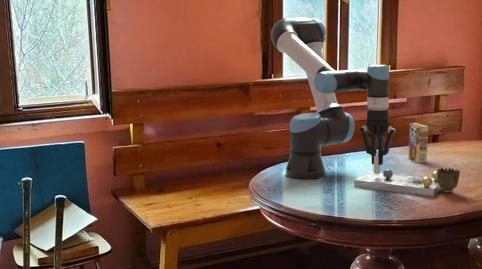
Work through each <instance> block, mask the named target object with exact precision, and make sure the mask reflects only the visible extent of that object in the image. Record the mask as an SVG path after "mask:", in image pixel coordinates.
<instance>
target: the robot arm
mask: <svg viewBox="0 0 482 269" xmlns="http://www.w3.org/2000/svg"><path fill="white" fill-rule="evenodd" d="M326 35H327V31H326V27H325V25H324V23H323V22H322V21H321V20H320V19H319V18H317V17H309V16H308V17H285V18H282V19H279V20H278V21H276V22H275V23H274V24H273V27H272V28H271V31H270V39H271V42H272V45H273V46H274V48H276V49H277V51H279V52H280V53H282V54H286V55H287V56H288V57H289V58H290V59H291V60H292V61H293V62H295V63H296V65H298V66H299V67H300V68H301V69H302V70H303V71H304V72H305V75H306V77H307V81H308V83H309V88H310V91H311V94H312V98H313V100H314V104H315V108H316V112H308V113H306V112H305V113H300V114H297V115H294V116H292V117H291V119H290V125H289V134H290V135H289V137H290V138H289V139H290V142H289V143H290V144H289V146H290V147H289V148H290V149H289V150H290V151H289V152H290V154H289V158H288V162H287V164H286V166H285V175H286V176H287V177H288V178H292V179H299V180H300V179H301V180H310V179H311V180H315V179H319V178H320V179H321V178H323V177H325V175H326V168H325V165H324V160H323V158H322V152H321V151H322V150H321V147H323V146H324V147H325V146H331V145H340V144H344V143H346V142H349V141H350V140H351V138H352V137H354V136H353V135H354V133H355V128H356V127H355V120H354V117H353V116H352V115H351V114H350V113H348V112H345V110H344V109H345V108H344V106H343V105H341V104H339V103H338V100H337V96H336V93H341V92H351V91H365V92H367V94H366V95H367V96H366V102H367V104H366V107H367V110H366V122H365V125H363V126H361V127H360V128H359V131H360V132H361V135H362V139H363V142H364V143H363V144H364V147H365V148H364V149H365V152H366V154H369V155H370V156H371V165H373V172H374V174H379V173H381V166H382V165H383V164H384V156H386V155H388V154H389V152H390V148H391V145H392V140H393V137H394V134H396V131H397V129H396V128H393V127H392V126H391V124H390V122H389V120H390V119H389V118H390V116H389V113H390V111H389V109H388V108H390V104H389V103H390V78H391V77H390V67H389V65H387V64H370V65H368V66H367V68H366V69H361V68H350V69H348V70H347V69H345V70H336V69H334V68H332V67H331V66H330V65H329V64H328V63H327V62H326V61H325V58H324V54H323V50H322V49H323V48H324V46H325V45H324V43H326V42H325V41H326V38H327V37H326ZM386 132H387V133H388V134H387V136H386V140H385V139H384V137H385V133H386ZM369 133H370V136H369ZM370 138H371V139H370ZM384 141H385V142H384Z"/></svg>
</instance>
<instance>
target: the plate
mask: <svg viewBox="0 0 482 269" xmlns="http://www.w3.org/2000/svg"><path fill="white" fill-rule="evenodd" d="M423 178H424V177H421V176H414V175H413V176H412V175H404V174H394V173H393V176H392V177H391V178H390V179H386V178H385V177H384V176H383V172H380V173H379V174H374V171H365V173H363V174H361V175H360V176H358V177H356V178H355V179H354V182H353V186H354V187H355V188H362V189H363V188H364V189H369V190H370V189H371V190H379V191H386V192H395V193H402V194H409V195H418V196H427V197H433V198H434V196H436V195H437V194H438V193H439V192H440V191H442V189H443V188H441V187H440V186H439V184H438V181H434V180H433V179H432V177H431V178H430V177H429V178H430V179H431V180H432V184H431V185H430V186H429V187H425V186H423V185H422V179H423Z"/></svg>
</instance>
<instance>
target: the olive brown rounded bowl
mask: <svg viewBox="0 0 482 269" xmlns="http://www.w3.org/2000/svg"><path fill="white" fill-rule="evenodd" d="M436 171H437V177H438V184H439V186H440V187H441V188H442V189H441V191H442V193H443V194H447V195H450V194H453V193H454V190H455V189H456V188H457V186H458V184H459V179H460V173H461V171H460V169H457V168H456V169H454V168H450V167H449V168H447V167H446V168H443V167H441V168H438V169H437V170H436Z"/></svg>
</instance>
